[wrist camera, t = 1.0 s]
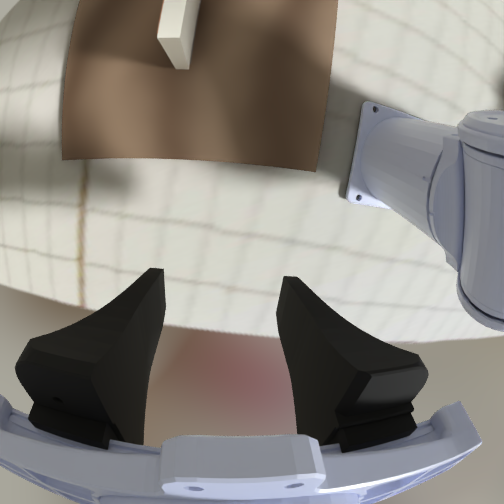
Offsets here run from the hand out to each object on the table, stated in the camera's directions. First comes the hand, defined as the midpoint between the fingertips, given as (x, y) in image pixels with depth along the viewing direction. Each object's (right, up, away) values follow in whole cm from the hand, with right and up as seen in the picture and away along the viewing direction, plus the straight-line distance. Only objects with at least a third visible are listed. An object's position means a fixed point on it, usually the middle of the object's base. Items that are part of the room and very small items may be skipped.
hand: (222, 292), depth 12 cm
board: (-3, +15, +3) cm, 16 cm away
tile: (-1, +14, -3) cm, 15 cm away
